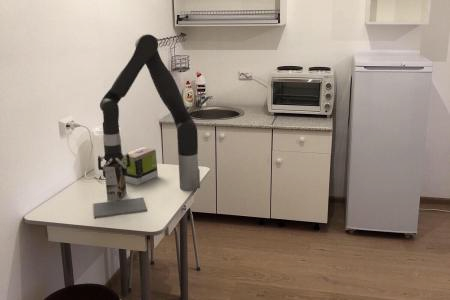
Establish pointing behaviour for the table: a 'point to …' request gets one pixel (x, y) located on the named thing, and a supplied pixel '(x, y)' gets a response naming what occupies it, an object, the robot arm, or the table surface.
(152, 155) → the tea box
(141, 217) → the table surface
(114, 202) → the mat
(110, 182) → the coffee box
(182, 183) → the robot arm
